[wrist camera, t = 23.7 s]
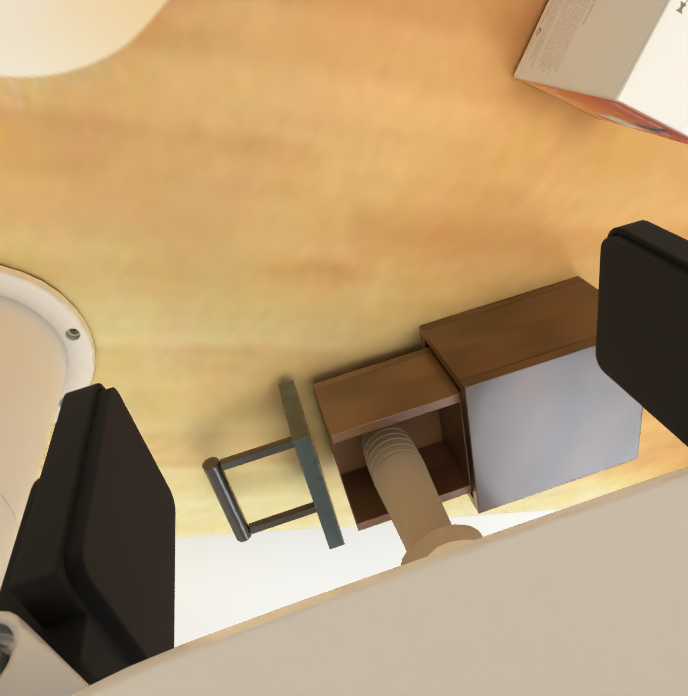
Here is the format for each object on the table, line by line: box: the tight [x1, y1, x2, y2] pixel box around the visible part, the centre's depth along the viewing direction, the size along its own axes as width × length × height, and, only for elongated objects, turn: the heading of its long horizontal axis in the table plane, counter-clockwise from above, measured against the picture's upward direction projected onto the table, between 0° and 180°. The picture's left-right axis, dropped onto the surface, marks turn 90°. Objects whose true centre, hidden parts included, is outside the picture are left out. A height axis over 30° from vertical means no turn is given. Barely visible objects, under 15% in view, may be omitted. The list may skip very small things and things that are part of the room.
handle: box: [360, 423, 482, 566], centre depth 40 cm, size 5×6×15 cm
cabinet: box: [420, 276, 643, 513], centre depth 46 cm, size 14×13×9 cm
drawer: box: [202, 347, 473, 549], centre depth 44 cm, size 19×11×7 cm, turn 103°
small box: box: [514, 0, 688, 144], centre depth 33 cm, size 8×6×10 cm
